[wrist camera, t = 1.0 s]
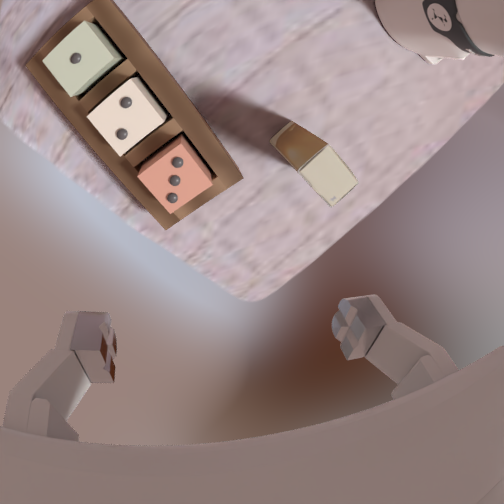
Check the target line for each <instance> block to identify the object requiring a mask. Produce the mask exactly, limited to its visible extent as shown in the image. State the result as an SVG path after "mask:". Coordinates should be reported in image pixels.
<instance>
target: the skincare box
mask: <svg viewBox="0 0 504 504" xmlns="http://www.w3.org/2000/svg"><path fill="white" fill-rule="evenodd" d="M269 142H270V143H271V144H272V145H273V146H274V147H275V149H276V150H277V151H278V152H279V153H280V154H281V155H282V156H283V157H284V158H285V159H286V160H287V161H288V162H289V163H290V165H291V166H292V167H293V168H294V169H295V170H296V171H297V172H298V173H299V174H300V175H301V176H302V178H303V179H304V180H305V181H306V182H307V183H308V184H309V185H310V186H311V187H312V188H313V189H314V190H315V191H316V192H317V193H318V195H319V196H320V197H321V198H322V199H323V200H324V201H325V202H326V203H327V204H328V205H329V206H330V207H331V208H332V207H333V206H334V205H335V204H337V203H338V202H339V201H340V200H341V199H342V198H343V197H345V196H346V195H347V194H348V193H349V192H350V191H351V190H352V189H353V188H354V187H355V186H356V185H357V184H358V183H359V182H358V180H357V179H356V177H355V176H354V174H353V173H352V171H351V170H350V169H349V167H348V166H347V165H346V164H345V162H344V161H343V160H342V159H341V157H340V156H339V155H338V154H337V153H336V152H335V150H334V149H333V148H332V147H331V146H330V145H329V144H328V143H326V142H325V141H323V140H322V139H320V138H319V137H317V136H315V135H314V134H312V133H311V132H309V131H307V130H306V129H304V128H303V127H301V126H299V125H298V124H296V123H295V122H293V121H290V122H289V123H288V124H287V125H286V126H284V127H283V128H282V129H281V130H280V131H279V132H278V133H277V134H276V135H275V136H273V137H272V138H271V139H270V141H269Z"/></svg>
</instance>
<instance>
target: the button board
mask: <svg viewBox="0 0 504 504" xmlns="http://www.w3.org/2000/svg"><path fill="white" fill-rule="evenodd" d="M83 21H87V22H90V23H93V24H95V25H99V24H100V25H101V26H102V27H103V28H104V29H105V31H106V32H107V33H108V35H109V36H110V37H111V38H112V40H113V41H114V42H115V43H116V45H117V46H118V47H119V48H120V50H121V51H122V52H123V53H124V55H125V56H126V57H127V58H128V59H127V60H125V61H124V62H123V63H122V64H120V65H119V66H118V67H117V68H115V69H114V70H113V71H112V72H111V73H109V74H108V75H107V76H106V77H105V78H104V79H102V80H101V81H100V82H99V83H98V84H97V85H96V86H95V87H93V88H92V89H91V90H90V91H89V92H88V93H87V94H86V92H85V93H82V94H79V95H76V96H73V97H70V96H69V94H68V93H67V92H66V91H65V89H64V88H63V87H62V86H61V84H60V83H59V82H58V81H57V79H56V78H55V77H54V75H53V74H52V73H51V72H50V70H49V69H48V68H47V66H46V65H45V64H44V63H43V61H42V60H43V59H44V58H45V57H46V56H47V55H48V54H49V53H50V52H51V51H52V50H53V49H54V48H55V47H56V46H57V45H58V44H59V43H60V42H61V41H62V40H63V39H64V38H65V37H66V36H67V35H69V34H70V33H71V32H72V31H73V30H74V29H75V28H76V27H77V26H79V25H80V24H81V23H82V22H83ZM25 66H26V67H27V68H28V70H29V71H30V72H31V73H32V75H33V76H34V77H35V79H36V80H37V81H38V83H39V84H40V85H41V86H42V88H43V89H44V90H45V92H46V93H47V94H48V95H49V97H50V98H51V99H52V100H53V102H54V103H55V104H56V105H57V107H58V108H59V109H60V110H61V112H62V113H63V114H64V115H65V117H66V118H67V119H68V120H69V121H70V123H71V124H72V125H73V126H74V127H75V129H76V130H77V131H78V132H79V133H80V135H81V136H82V137H83V138H84V139H85V141H86V142H87V143H88V144H89V145H90V146H91V148H92V149H93V150H94V151H95V152H96V153H97V155H98V156H99V157H100V158H101V159H102V160H103V162H104V163H105V164H106V165H107V166H108V167H109V168H110V170H111V171H112V172H113V173H114V174H115V175H116V176H117V177H118V179H119V180H120V181H121V182H122V183H123V184H124V185H125V186H126V188H127V189H128V190H129V191H130V192H131V193H132V194H133V195H134V196H135V197H136V199H137V200H138V201H139V202H140V203H141V204H142V205H143V206H144V207H145V208H146V209H147V211H148V212H149V213H150V214H151V215H152V216H153V217H154V218H155V219H156V220H157V221H158V222H159V223H160V225H161V226H162V227H163V228H164V229H165V230H167V229H169V228H170V227H171V226H173V225H174V224H176V223H177V222H178V221H180V220H181V219H183V218H184V217H186V216H187V215H189V214H190V213H192V212H193V211H194V210H196V209H197V208H199V207H200V206H202V205H203V204H205V203H206V202H208V201H209V200H211V199H212V198H214V197H215V196H217V195H218V194H220V193H221V192H223V191H224V190H226V189H227V188H229V187H231V186H232V185H234V184H235V183H237V182H238V181H240V180H241V179H243V176H242V174H241V172H240V170H239V168H238V166H237V165H236V163H235V162H234V161H233V159H232V158H231V156H230V155H229V153H228V152H227V151H226V149H225V148H224V146H223V145H222V143H221V142H220V141H219V139H218V138H217V136H216V135H215V134H214V132H213V131H212V129H211V128H210V127H209V125H208V124H207V122H206V121H205V120H204V118H203V117H202V115H201V114H200V113H199V111H198V110H197V109H196V107H195V106H194V104H193V103H192V102H191V100H190V99H189V98H188V96H187V95H186V94H185V92H184V91H183V90H182V88H181V87H180V86H179V84H178V83H177V81H176V80H175V79H174V77H173V76H172V75H171V74H170V72H169V71H168V70H167V68H166V67H165V66H164V64H163V63H162V62H161V60H160V59H159V58H158V56H157V55H156V54H155V53H154V51H153V50H152V49H151V47H150V46H149V45H148V43H147V42H146V41H145V40H144V38H143V37H142V36H141V35H140V33H139V32H138V31H137V29H136V28H135V27H134V26H133V24H132V23H131V22H130V21H129V19H128V18H127V17H126V16H125V15H124V13H123V12H122V11H121V10H120V8H119V7H118V6H117V5H116V3H115V2H114V1H113V0H93V1H92V2H90V3H89V4H88V5H87V6H86V7H84V8H83V9H82V10H81V11H80V12H78V13H77V14H76V15H75V16H74V17H73V18H71V19H70V20H69V21H68V22H67V23H66V24H65V25H64V26H63V27H62V28H61V29H59V30H58V31H57V32H56V33H55V34H54V35H53V36H52V37H51V38H50V39H49V40H48V41H47V42H46V43H45V44H44V45H43V46H42V48H41V49H40V50H39V51H38V52H37V53H36V54H35V55H34V56H33V57H32V58H31V60H30V61H29V62H28V63H27V64H26V65H25ZM137 73H139V74H140V75H141V76H142V78H143V79H144V80H145V82H146V83H147V84H148V85H149V87H150V88H151V89H152V91H153V92H154V93H155V94H156V96H157V97H158V98H159V100H160V101H161V102H162V104H163V105H164V106H165V107H166V109H167V110H168V111H169V113H170V114H171V116H170V117H169V118H167V119H166V120H165V121H164V122H163V123H162V124H161V125H159V126H158V127H157V128H155V129H154V130H153V131H151V132H150V133H149V134H147V135H146V136H145V137H144V138H142V139H141V140H140V141H139V142H137V143H136V144H135V145H134V146H132V147H131V148H130V149H129V150H128V151H126V152H125V153H124V154H123V155H122V156H119V155H118V154H117V152H116V151H115V150H114V149H113V148H112V147H111V145H110V144H109V143H108V142H107V141H106V139H105V138H104V137H103V136H102V135H101V134H100V132H99V131H98V130H97V129H96V128H95V126H94V125H93V124H92V123H91V121H90V120H89V119H88V118H87V116H88V115H89V114H90V113H91V112H92V111H93V110H94V109H95V108H96V107H97V106H99V105H100V104H101V103H102V102H103V101H104V100H105V99H106V98H108V97H109V96H110V95H111V94H112V93H113V92H115V91H116V90H117V89H118V88H119V87H121V86H122V85H123V84H124V83H126V82H127V81H128V80H129V79H131V78H132V77H134V76H135V75H136V74H137ZM182 130H183V131H184V132H185V134H186V135H187V136H188V138H189V139H190V140H191V142H192V143H193V144H194V146H195V147H196V148H197V150H198V151H199V152H200V154H201V155H202V156H203V157H204V159H205V160H206V161H207V163H208V164H209V165H210V167H211V169H210V174H211V178H212V183H213V185H212V186H210V187H209V188H207V189H206V190H204V191H203V192H202V193H200V194H199V195H197V196H196V197H194V198H193V199H191V200H190V201H188V202H187V203H186V204H184V205H183V206H181V207H180V208H178V209H177V210H176V211H174V212H173V213H171V214H170V213H169V212H168V211H167V210H166V209H165V208H164V206H163V205H162V204H161V203H160V202H159V201H158V200H157V199H156V197H155V196H154V195H153V194H152V193H151V192H150V191H149V189H148V188H147V187H146V186H145V185H144V184H143V183H142V181H141V180H140V179H139V178H138V177H137V176H138V174H139V171H140V169H141V166H142V164H143V162H142V160H144V159H145V158H146V157H147V156H149V155H150V154H151V153H153V152H154V151H155V150H157V149H158V148H159V147H161V146H162V145H163V144H165V143H166V142H167V141H169V140H170V139H171V138H173V137H174V136H175V135H177V134H178V133H180V132H181V131H182Z"/></svg>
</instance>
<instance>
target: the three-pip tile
mask: <svg viewBox="0 0 504 504" xmlns="http://www.w3.org/2000/svg"><path fill="white" fill-rule="evenodd" d="M137 177H138V178H139V179H140V180H141V181H142V183H143V184H144V185H145V186H146V187H147V188H148V189H149V191H150V192H151V193H152V194H153V195H154V196H155V197H156V199H157V200H158V201H159V202H160V203H161V204H162V205H163V206H164V208H165V209H166V210H167V211H168V212H169V213H170V214H171V213H173V212H174V211H176V210H177V209H178V208H180V207H181V206H183V205H184V204H186V203H187V202H188V201H190V200H191V199H193V198H194V197H196V196H197V195H199V194H200V193H202V192H203V191H204V190H206V189H207V188H209V187H210V186H212V185H213V183H212V178H211V174H210V169H209V168H208V167H207V165H206V164H205V163H204V161H203V160H202V159H201V157H200V156H199V155H198V153H197V152H196V151H195V150H194V148H193V147H192V146H191V144H190V143H189V142H188V140H187V139H186V138H185V136H184V135H183V134H182V133H181V134H180V135H179V136H177V137H176V138H174V139H173V140H172V141H170V142H169V143H168V144H166V145H165V146H164V147H162V148H161V149H160V150H158V151H157V152H156V153H154V154H153V155H152V156H150V157H149V158H148V159H147V160H145V161H144V162H143V164H142V166H141V169H140V171H139V174H138V176H137Z"/></svg>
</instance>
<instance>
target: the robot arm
mask: <svg viewBox="0 0 504 504" xmlns="http://www.w3.org/2000/svg"><path fill="white" fill-rule="evenodd" d="M375 5H376V9H377V13H378V16H379V18H380V20H381V22H382V24H383V26H384V28H385V29H386V31H387V32H388V33H389V35H390V36H391V37H392V38H393V39H394V40H395V41H396V42H397V43H398V44H400V45H401V46H402V47H404V48H406V49H407V50H410V51H412V52H415V53H417V54H419V55H420V56H421V57H422V58H423V59H424V60H425V61H426V62H427V63H429V64H437V63H438V62H439V61H441V60H442V59H443V58H448V59H457V60H464V59H465V57H467V56H468V55H469V54H470V53H472V54H475V55H478V56H489V57H490V56H494V55H496V56H500V57H504V0H375ZM338 308H339V311H338V312H337V313H336V314H335V315H334V317H333V320H332V331H333V334H334V336H335V338H337V339H338V340H339V341H341V346H340V347H341V349H342V351H343V353H344V355H345V357H346V359H347V360H351V359H356V358H361V357H365V358H366V359H367V360H369V361H370V362H371V363H372V364H374V365H375V366H376V367H377V368H378V369H380V370H381V371H382V372H383V373H385V374H386V375H387V376H388V377H390V378H391V379H392V380H393V381H394V382H396V383H397V384H398V386H397V387H396V388H395V389H394V390H393V391H392V394H391V395H392V397H393V399H394V400H392V401H390V402H387V403H384V404H382V405H379V406H376V407H373V408H370V409H367V410H364V411H361V412H358V413H355V414H352V415H349V416H345V417H342V418H339V419H335V420H332V421H328V422H325V423H320V424H317V425H313V426H309V427H305V428H300V429H296V430H291V431H287V432H281V433H277V434H271V435H266V436H260V437H254V438H248V439H240V440H232V441H225V442H214V443H203V444H189V445H167V446H135V445H112V444H111V445H110V444H98V443H88V442H79V441H78V436H79V435H78V433H77V432H76V431H75V430H74V429H73V428H72V427H71V426H70V425H69V424H68V423H67V422H66V421H67V420H68V418H69V417H70V415H71V414H72V412H73V411H74V409H75V408H76V406H77V405H78V403H79V402H80V400H81V399H82V397H83V396H84V394H85V393H86V391H87V389H88V388H89V387H90V385H91V383H114V379H115V364H114V362H113V359H114V358H115V357H116V353H117V342H116V341H117V340H116V335H115V331H114V329H113V328H112V327H111V318H110V314H109V313H108V312H86V311H67V312H66V313H65V314H64V317H63V320H62V324H61V327H60V331H59V335H58V338H57V342H56V346H55V349H51V350H50V351H49V352H48V353H47V354H46V355H45V356H44V357H43V358H42V359H41V360H40V361H39V362H38V363H37V364H36V365H35V366H34V367H33V368H32V369H31V370H30V371H29V372H28V373H27V374H26V375H25V376H24V377H23V378H22V379H21V380H20V381H19V382H18V383H17V384H16V385H15V387H14V388H13V389H12V390H11V391H10V392H9V396H8V401H7V406H6V411H5V417H4V422H3V427H1V426H0V504H504V346H500V347H498V348H497V349H495V350H494V351H492V352H490V353H489V354H487V355H485V356H484V357H482V358H480V359H478V360H477V361H475V362H473V363H472V364H470V365H468V366H466V367H464V368H462V369H460V370H458V368H457V367H456V366H455V364H454V362H453V361H452V359H451V358H450V356H449V355H448V353H447V352H446V351H445V349H444V348H443V347H441V346H440V345H438V344H436V343H435V342H433V341H431V340H430V339H428V338H426V337H424V336H423V335H421V334H419V333H418V332H416V331H414V330H413V329H411V328H409V327H408V326H406V325H404V324H403V323H401V322H398V323H397V322H396V320H395V319H394V317H393V316H392V314H391V313H390V311H389V310H388V309H387V307H386V306H385V305H384V303H383V302H382V300H381V299H380V298H379V297H378V296H377V295H368V296H361V297H352V298H345V299H342V300H341V301H340V303H339V305H338Z"/></svg>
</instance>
